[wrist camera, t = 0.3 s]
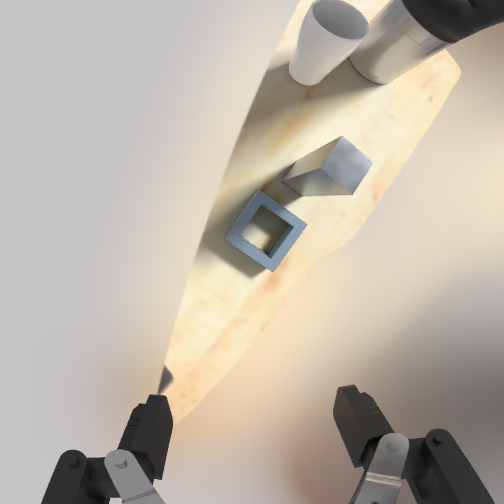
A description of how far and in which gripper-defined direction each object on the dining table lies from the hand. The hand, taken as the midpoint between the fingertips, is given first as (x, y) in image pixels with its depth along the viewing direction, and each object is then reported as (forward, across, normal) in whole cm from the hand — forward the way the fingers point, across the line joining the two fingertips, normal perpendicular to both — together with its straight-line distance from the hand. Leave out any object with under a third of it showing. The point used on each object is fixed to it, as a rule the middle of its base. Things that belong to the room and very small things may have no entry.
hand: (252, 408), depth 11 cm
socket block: (+27, -3, -5) cm, 28 cm away
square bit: (+27, -8, -12) cm, 31 cm away
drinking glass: (+28, -10, -28) cm, 41 cm away
